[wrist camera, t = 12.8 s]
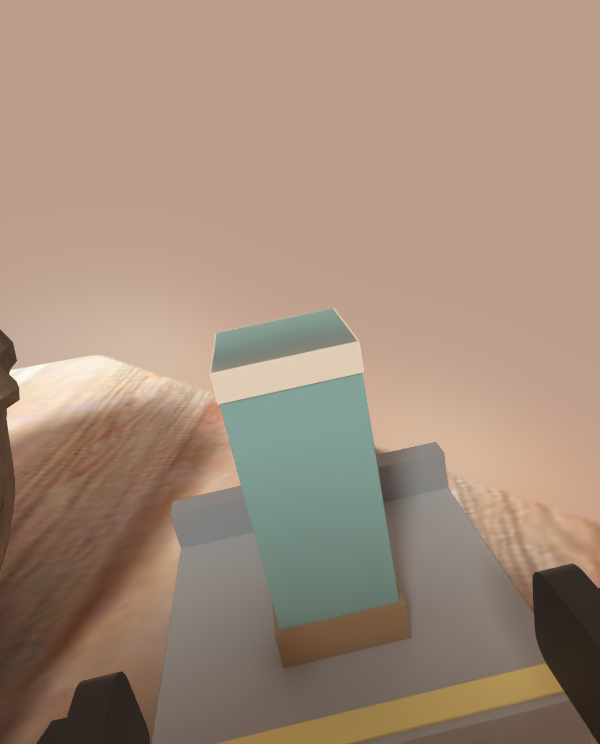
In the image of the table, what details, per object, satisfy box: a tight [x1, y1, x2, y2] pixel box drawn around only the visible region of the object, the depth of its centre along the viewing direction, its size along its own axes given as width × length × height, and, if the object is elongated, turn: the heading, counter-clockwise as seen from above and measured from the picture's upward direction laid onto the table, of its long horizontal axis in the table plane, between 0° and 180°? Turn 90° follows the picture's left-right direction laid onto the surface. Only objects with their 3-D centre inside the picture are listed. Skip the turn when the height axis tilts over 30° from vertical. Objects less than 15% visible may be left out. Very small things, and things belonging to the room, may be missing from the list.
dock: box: [151, 442, 590, 744], centre depth 23 cm, size 14×13×5 cm
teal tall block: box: [210, 308, 411, 668], centre depth 20 cm, size 5×5×12 cm
